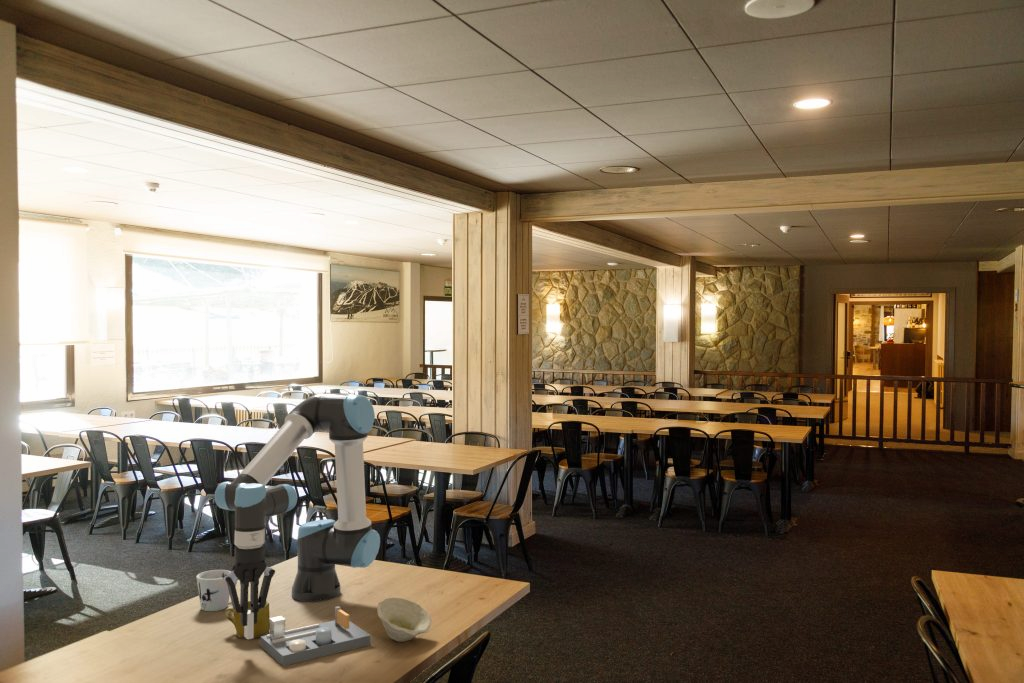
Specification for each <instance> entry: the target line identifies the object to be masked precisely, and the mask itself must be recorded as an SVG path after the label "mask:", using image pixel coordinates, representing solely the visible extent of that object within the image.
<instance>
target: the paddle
mask: <svg viewBox="0 0 1024 683" xmlns="http://www.w3.org/2000/svg"><path fill="white" fill-rule="evenodd" d="M334 620H335V625H336V626H339V625H341V626H342V627H344V628H345V629H349V621H350V614H349V613H347V612H345V611H344V610H342V609H341V606H335V607H334Z"/></svg>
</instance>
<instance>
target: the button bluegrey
mask: <svg viewBox="0 0 1024 683" xmlns="http://www.w3.org/2000/svg"><path fill="white" fill-rule="evenodd" d="M331 642H332V629H331V628H328V627H323V628H318V629H317V630H316V645H319V646H323V645H327V644H331Z"/></svg>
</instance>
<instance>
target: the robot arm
mask: <svg viewBox="0 0 1024 683" xmlns="http://www.w3.org/2000/svg"><path fill="white" fill-rule="evenodd" d="M375 415H376V414H375V408H374V406H373V404H372V402H371V400H369V399H368V397H367V396H365V395H362V394H355V393H330V392H321V393H316V394H313V395H312V396H310V397H308V398H306V399H304V400H303V401H301V402H300V403H299V404H297V405H296V406H295V407H294V408H293V409H292V410H291V411H290V412H289V413H288V414H287V415H286V416H285V417H284V423H283V425H282V426H281V427H280V428H279V429H278V430H277V431H276V433H274V435H273V436H272V437H271V438H270V439H269V441H267V443H266V444H265V445H264V446H263V447H262V448H261V449H260V451H259V452H258V453H257V454H256V455H255V456H254V457H253V459H251V461H250V462H249V463H248V464H247V465H246V466H245V467H244V468H243V470H242V471H241V472H240V473H239V474H238V475H237V476H236V477H235V479H234V480H232V481H230V480H229V481H223V482H221V483H219V485H217V487H216V489H215V491H214V502H215V504H216V506H217V507H218V508H219V509H223V510H227V511H231V512H234V541H233V542H234V545H235V547H234V549H233V551H234V552H233V554H234V555H233V556H234V557H233V563H234V564H233V566H232V568H231V569H232V570H231V573H229V574H228V575H224V576H223V579H224V580H225V582H226V583H227V585H228V589H229V593H230V596H229V598H230V600H231V606H233V609H234V610H235V611H236V612H237V613H241V625H242V626H244V637H246V638H247V640H253V639H252V638H253V637H254V624H256V623H257V612H259V609H261V608H264V607H265V603H266V601H267V599H268V594H269V590H270V586H271V582H272V578H273V577H274V575H275V574H276V570H275V569H274V568H273V567H269V566H268V565H267V563H266V546H265V543H266V519H267V518H271V517H274V516H278V515H281V514H286V513H287V512H289V511H291V510H293V509H294V508H295V507H296V505H297V502H298V494H297V491H296V489H295V488H294V487H293V486H292V485H291V484H288V483H283V484H277V485H267V484H268V483H269V482H270V481H271V479H272V478H273V477H274V476H275V474H276V473H277V472H278V471H279V470H280V468H281V467H282V466H283V464H285V463H286V461H287V460H288V459H289V458H290V457H291V455H292V454H293V453H294V452H295V451H296V449H297V448H299V446H300V445H301V444H302V442H303V441H304V440H306V439H307V440H308V439H310V437H311V438H312V436H313V434H314V433H317V432H320V431H325V432H326V431H328V438H329V440H330V442H332V443H333V444H334V457H335V458H334V459H335V460H334V461H335V476H336V477H335V479H336V482H335V483H336V498H337V518H338V519H337V520H334V519H332V518H330V519H329V518H327V519H317V520H312V521H308V522H305V523H302V524H301V525H300V526H299V527H298V531H297V573H296V575H295V577H294V581H293V584H292V587H291V597H292V598H293V599H294V600H297V601H302V602H321V601H327V600H331V599H335V598H337V597H339V595H340V594H341V583H340V580H339V576H338V574H337V570H336V565H337V566H343V567H350V568H354V569H355V568H361V569H362V568H363V569H364V568H367V567H369V566H370V565H371V564H373V562H374V561H375V559H376V557H377V555H378V553H379V549H380V546H381V537H380V533H378V531H377V530H375V529H373V527H372V526H373V524H372V520H371V519H370V518H368V517H367V507H366V484H365V481H366V478H365V459H364V441H365V440H366V439H367V438H368V435H369V432H371V430H372V429H373V427H374V423H375V417H376V416H375ZM262 575H263V578H262V581H261V586H260V591H259V584H260V579H261V577H262ZM234 576H236V577H237V578H238V581H239V585H240V594H239V595H240V598H239V596H238V592H237V588H236V587H237V586H236V587H235V584H234V580H235V578H234ZM249 588H250V595H249ZM249 596H250V597H249ZM249 598H250V600H249ZM248 601H250V608H251V610H248ZM246 638H245V639H246Z"/></svg>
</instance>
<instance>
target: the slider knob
mask: <svg viewBox="0 0 1024 683" xmlns="http://www.w3.org/2000/svg"><path fill="white" fill-rule="evenodd" d="M286 620H287V619H286V617H283V616H282V615H279V616H274V617H270V618H269V621H270V630H269V634H270V638H271V639H272V640H275V639H280V638H284V637H285V631H286Z"/></svg>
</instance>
